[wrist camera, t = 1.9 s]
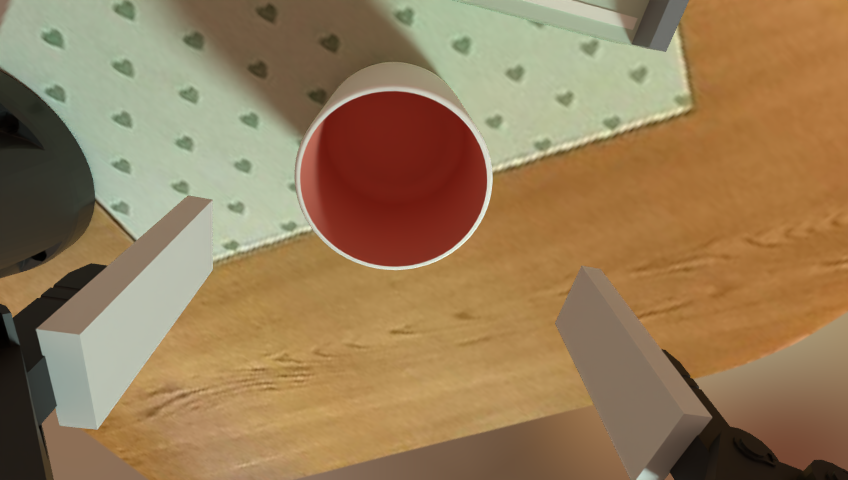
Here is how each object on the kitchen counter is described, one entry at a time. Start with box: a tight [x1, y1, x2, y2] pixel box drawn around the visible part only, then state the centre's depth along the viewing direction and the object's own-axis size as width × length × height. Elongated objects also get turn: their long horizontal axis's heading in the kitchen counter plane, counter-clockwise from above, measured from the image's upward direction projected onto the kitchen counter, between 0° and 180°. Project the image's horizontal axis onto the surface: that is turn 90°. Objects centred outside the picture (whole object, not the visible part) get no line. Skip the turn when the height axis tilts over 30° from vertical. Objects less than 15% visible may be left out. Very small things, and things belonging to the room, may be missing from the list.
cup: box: [295, 62, 492, 270], centre depth 26 cm, size 10×10×10 cm
